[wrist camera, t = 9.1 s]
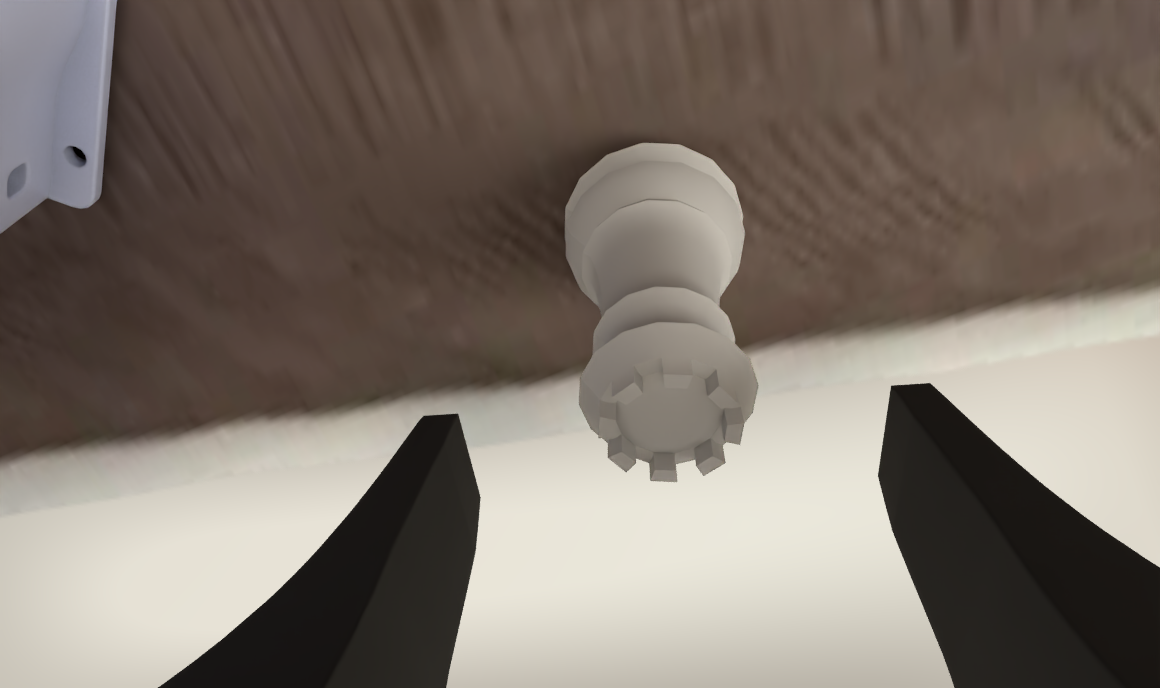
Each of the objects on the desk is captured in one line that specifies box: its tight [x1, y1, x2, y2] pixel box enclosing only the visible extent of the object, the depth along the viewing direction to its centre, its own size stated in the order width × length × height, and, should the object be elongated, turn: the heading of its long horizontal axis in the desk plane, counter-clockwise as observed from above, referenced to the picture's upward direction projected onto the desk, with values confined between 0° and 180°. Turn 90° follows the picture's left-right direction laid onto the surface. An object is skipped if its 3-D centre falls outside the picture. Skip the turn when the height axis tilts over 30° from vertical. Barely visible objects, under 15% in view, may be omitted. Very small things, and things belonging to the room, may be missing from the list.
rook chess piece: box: [565, 143, 758, 482], centre depth 17 cm, size 4×4×8 cm
